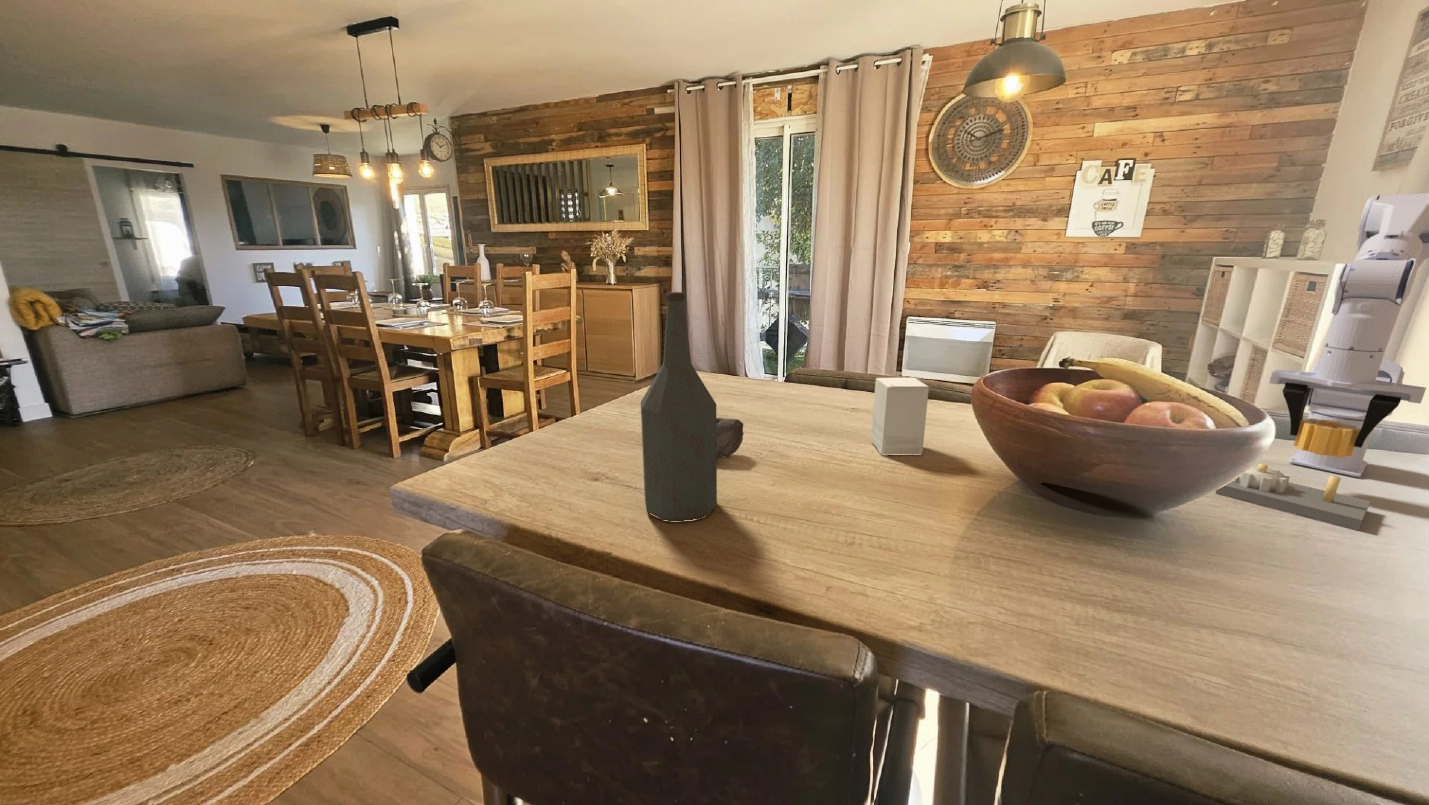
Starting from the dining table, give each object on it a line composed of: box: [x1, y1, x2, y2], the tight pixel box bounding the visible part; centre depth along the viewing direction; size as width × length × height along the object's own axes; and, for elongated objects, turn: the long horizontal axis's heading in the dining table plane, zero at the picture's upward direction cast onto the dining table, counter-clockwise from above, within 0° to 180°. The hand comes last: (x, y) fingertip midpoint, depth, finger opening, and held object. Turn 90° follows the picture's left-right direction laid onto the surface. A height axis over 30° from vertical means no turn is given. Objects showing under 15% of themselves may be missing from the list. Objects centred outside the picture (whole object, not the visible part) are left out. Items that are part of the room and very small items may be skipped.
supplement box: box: [870, 377, 930, 455], centre depth 98 cm, size 7×7×13 cm
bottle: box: [640, 291, 718, 521], centre depth 73 cm, size 10×10×30 cm
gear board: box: [1215, 463, 1371, 531], centre depth 77 cm, size 9×14×5 cm, turn 36°
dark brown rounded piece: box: [716, 417, 745, 458], centre depth 96 cm, size 15×5×7 cm, turn 78°
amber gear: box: [1293, 418, 1360, 458], centre depth 80 cm, size 6×6×4 cm
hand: (1325, 439), depth 80 cm, fingers closed on amber gear, 6 cm apart
